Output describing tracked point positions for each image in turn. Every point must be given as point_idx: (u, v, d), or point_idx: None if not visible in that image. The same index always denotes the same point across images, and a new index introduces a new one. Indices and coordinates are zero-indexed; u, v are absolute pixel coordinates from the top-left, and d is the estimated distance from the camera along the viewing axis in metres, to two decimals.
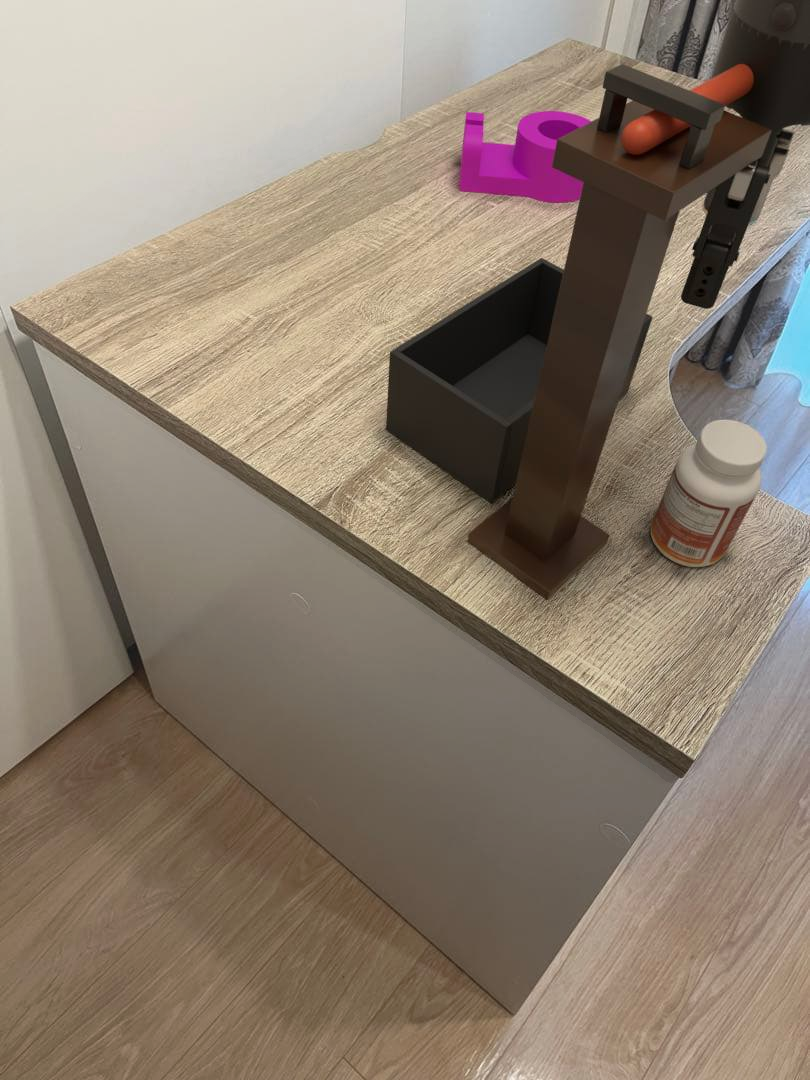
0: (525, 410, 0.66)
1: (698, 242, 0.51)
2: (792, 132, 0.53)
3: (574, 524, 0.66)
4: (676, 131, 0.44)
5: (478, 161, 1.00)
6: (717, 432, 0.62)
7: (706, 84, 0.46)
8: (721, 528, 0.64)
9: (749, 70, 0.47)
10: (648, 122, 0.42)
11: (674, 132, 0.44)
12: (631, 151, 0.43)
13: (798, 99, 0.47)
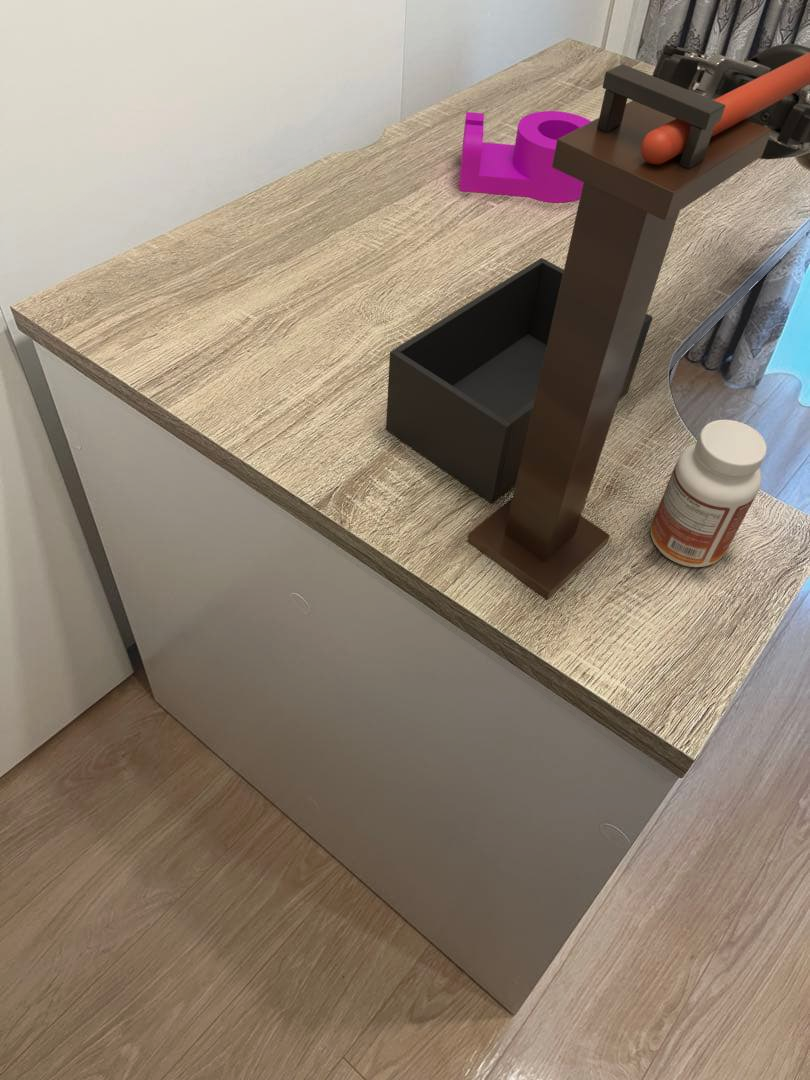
0: (525, 410, 0.66)
1: None
2: None
3: (574, 524, 0.66)
4: None
5: (478, 161, 1.00)
6: (717, 432, 0.62)
7: (738, 120, 0.45)
8: (721, 528, 0.64)
9: None
10: (666, 160, 0.43)
11: None
12: (642, 146, 0.42)
13: None
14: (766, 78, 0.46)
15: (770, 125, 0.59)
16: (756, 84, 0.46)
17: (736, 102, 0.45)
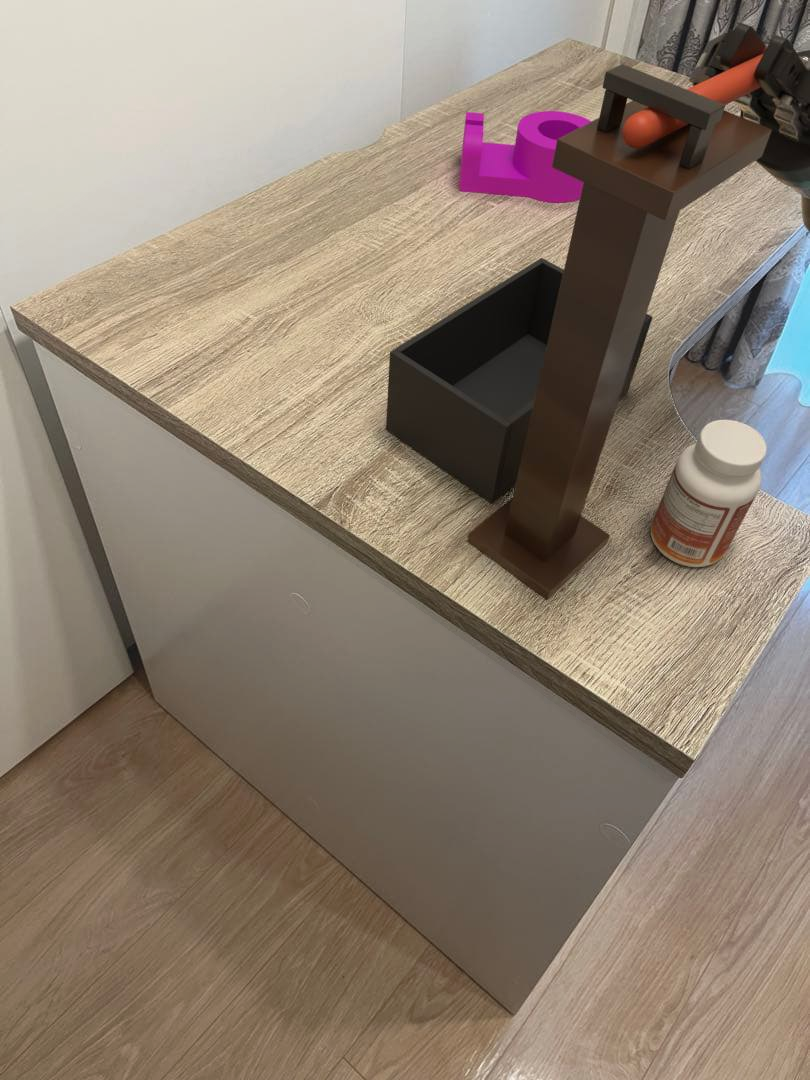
0: (525, 410, 0.66)
1: (702, 73, 0.53)
2: None
3: (574, 524, 0.66)
4: (677, 125, 0.44)
5: (478, 161, 1.00)
6: (717, 432, 0.62)
7: (705, 82, 0.46)
8: (721, 528, 0.64)
9: (748, 70, 0.47)
10: (649, 114, 0.42)
11: (675, 126, 0.44)
12: (633, 144, 0.43)
13: None
14: None
15: (775, 106, 0.54)
16: None
17: None
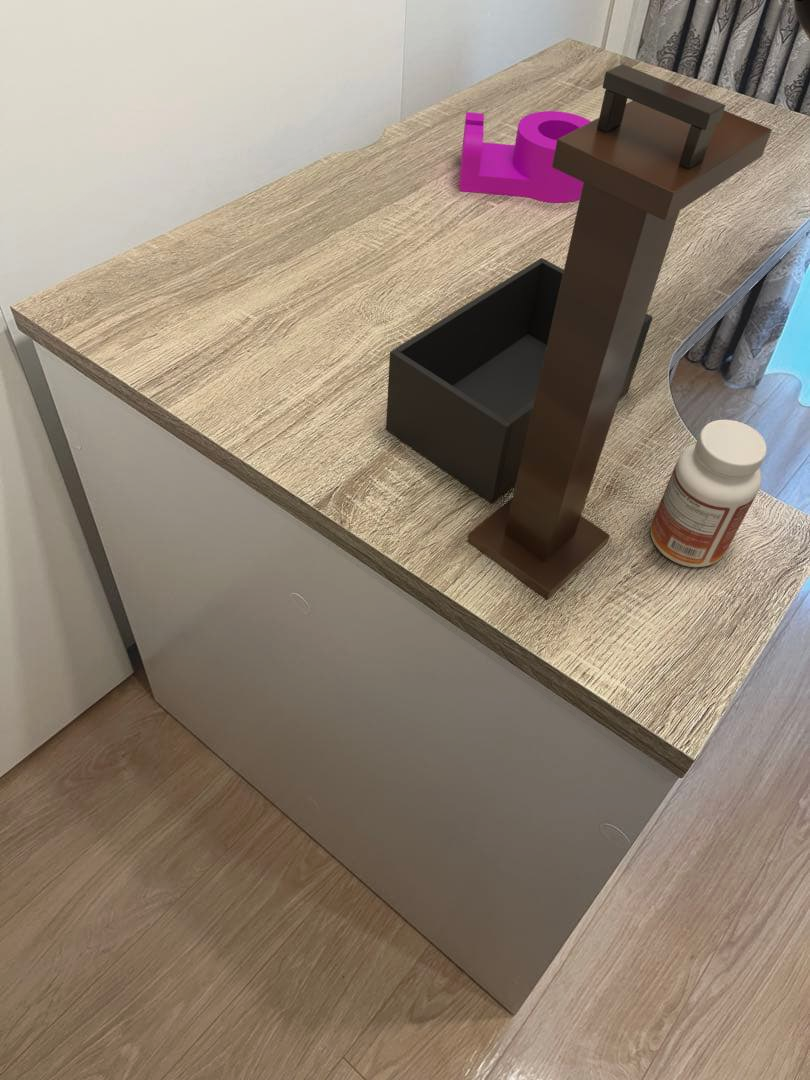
0: (525, 410, 0.66)
1: None
2: None
3: (574, 524, 0.66)
4: None
5: (478, 161, 1.00)
6: (717, 432, 0.62)
7: None
8: (721, 528, 0.64)
9: None
10: None
11: None
12: None
13: None
14: None
15: None
16: None
17: None
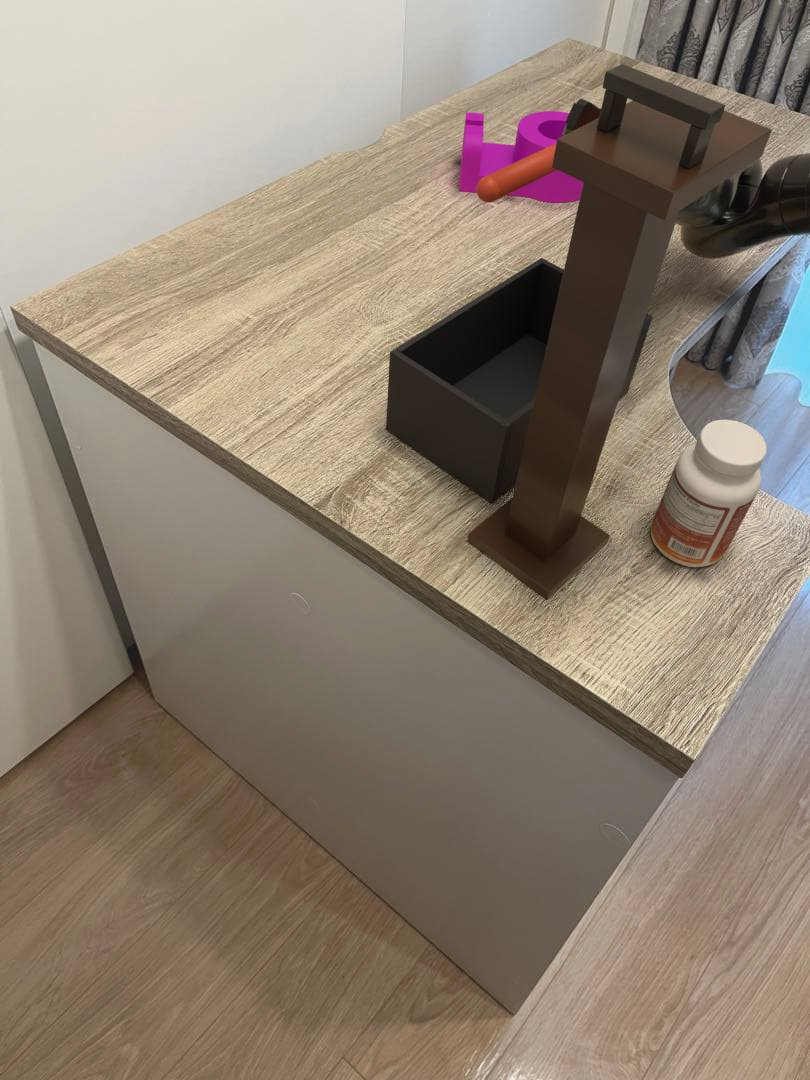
0: (525, 410, 0.66)
1: (564, 132, 0.66)
2: None
3: (574, 524, 0.66)
4: (522, 184, 0.56)
5: (478, 161, 1.00)
6: (717, 432, 0.62)
7: (549, 148, 0.58)
8: (721, 528, 0.64)
9: None
10: (495, 177, 0.55)
11: (520, 184, 0.56)
12: (484, 199, 0.55)
13: None
14: None
15: None
16: None
17: None
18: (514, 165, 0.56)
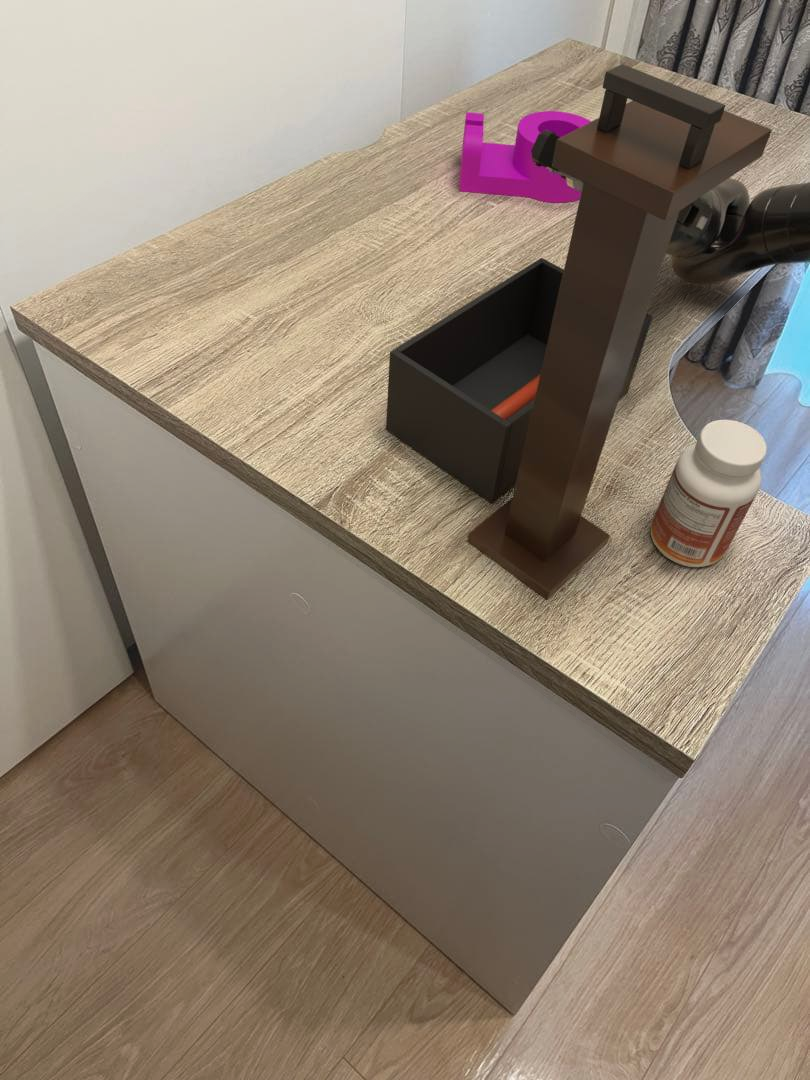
0: (525, 410, 0.66)
1: None
2: None
3: (574, 524, 0.66)
4: None
5: (478, 161, 1.00)
6: (717, 432, 0.62)
7: (502, 405, 0.76)
8: (721, 528, 0.64)
9: (533, 389, 0.77)
10: None
11: None
12: None
13: None
14: None
15: None
16: None
17: None
18: None
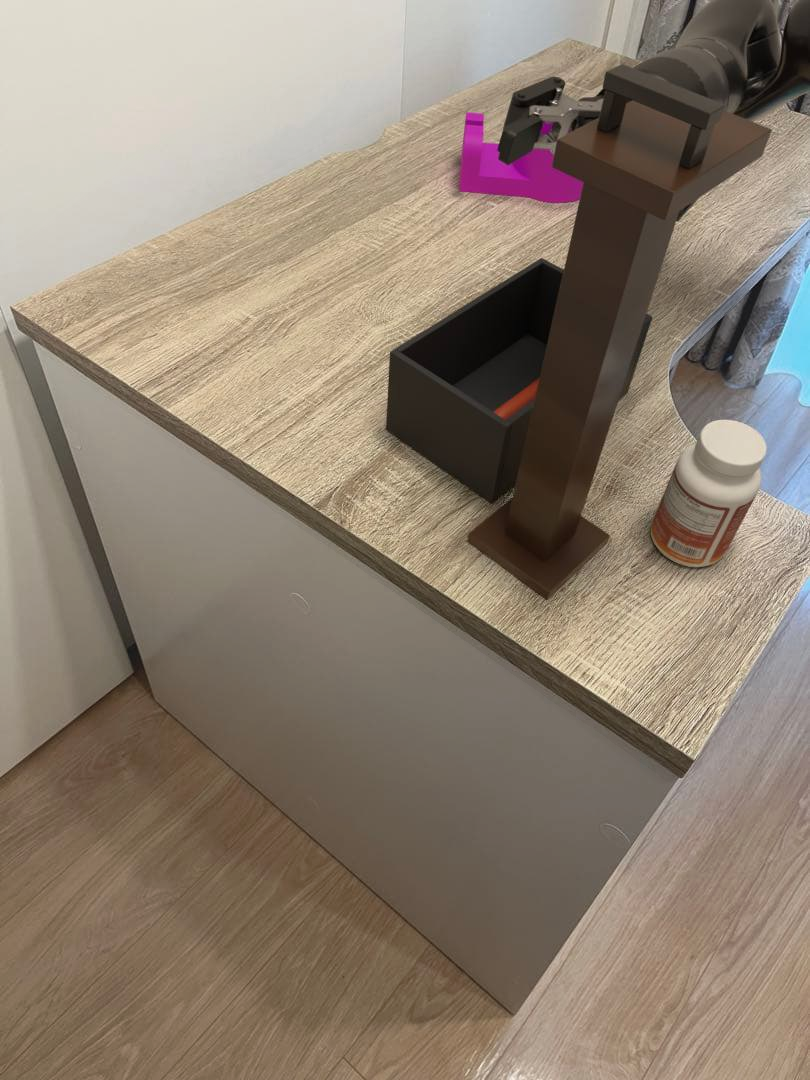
0: (525, 410, 0.66)
1: None
2: None
3: (574, 524, 0.66)
4: None
5: (478, 161, 1.00)
6: (717, 432, 0.62)
7: (506, 408, 0.75)
8: (721, 528, 0.64)
9: None
10: None
11: None
12: None
13: None
14: None
15: None
16: None
17: (496, 409, 0.76)
18: None
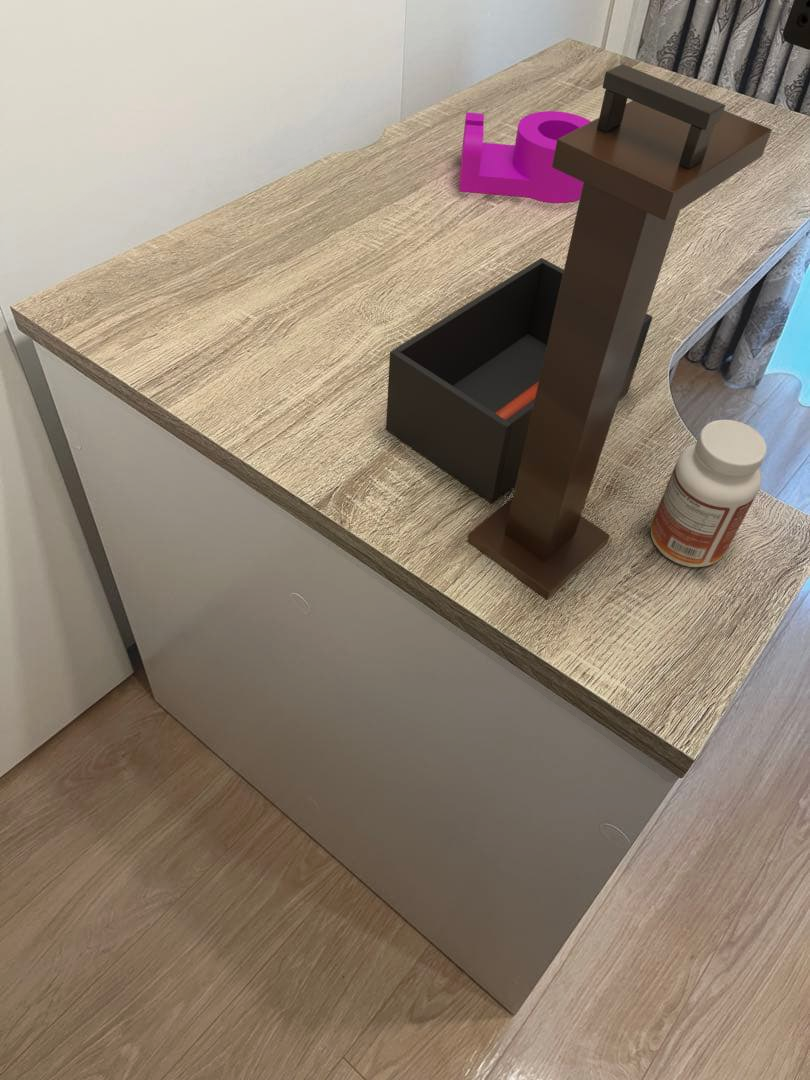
0: (525, 410, 0.66)
1: None
2: None
3: (574, 524, 0.66)
4: None
5: (478, 161, 1.00)
6: (717, 432, 0.62)
7: (510, 411, 0.75)
8: (721, 528, 0.64)
9: None
10: None
11: None
12: None
13: None
14: None
15: None
16: (515, 398, 0.77)
17: (500, 409, 0.76)
18: None
